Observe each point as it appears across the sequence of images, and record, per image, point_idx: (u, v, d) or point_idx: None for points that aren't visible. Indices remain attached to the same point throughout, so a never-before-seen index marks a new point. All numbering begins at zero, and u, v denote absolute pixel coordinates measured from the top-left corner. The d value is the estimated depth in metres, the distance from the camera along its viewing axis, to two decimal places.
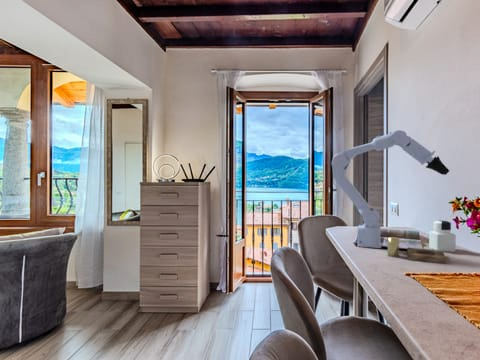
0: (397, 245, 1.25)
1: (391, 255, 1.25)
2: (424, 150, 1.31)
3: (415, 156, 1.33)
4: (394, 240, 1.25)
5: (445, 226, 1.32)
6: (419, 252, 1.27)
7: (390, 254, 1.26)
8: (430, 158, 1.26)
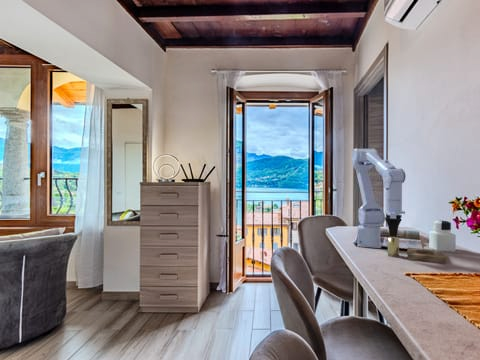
0: (397, 245, 1.25)
1: (391, 255, 1.25)
2: (398, 205, 1.23)
3: (387, 202, 1.25)
4: (394, 240, 1.25)
5: (445, 226, 1.32)
6: (419, 252, 1.27)
7: (390, 254, 1.26)
8: (394, 216, 1.20)
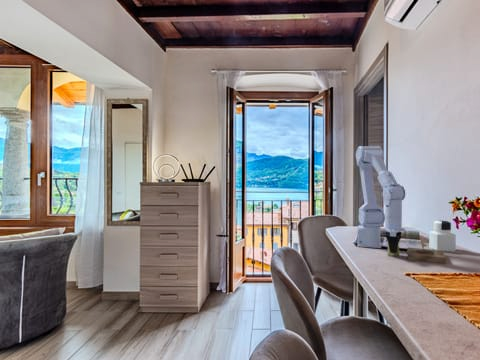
0: None
1: (391, 255, 1.25)
2: (398, 222, 1.24)
3: (387, 219, 1.26)
4: None
5: (445, 226, 1.32)
6: (419, 252, 1.27)
7: (390, 254, 1.26)
8: (394, 233, 1.20)
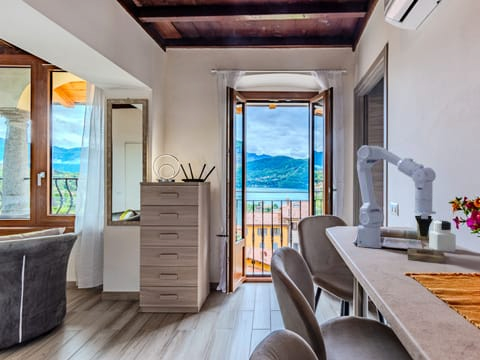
0: None
1: (421, 239, 1.22)
2: (429, 205, 1.20)
3: (417, 202, 1.22)
4: None
5: (445, 226, 1.32)
6: (419, 252, 1.27)
7: (420, 238, 1.22)
8: (425, 216, 1.17)
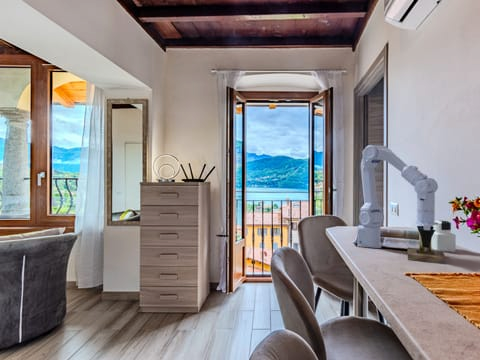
0: None
1: (424, 250, 1.22)
2: (431, 216, 1.20)
3: (419, 213, 1.22)
4: None
5: (445, 226, 1.32)
6: (419, 252, 1.27)
7: (422, 249, 1.22)
8: (428, 227, 1.17)
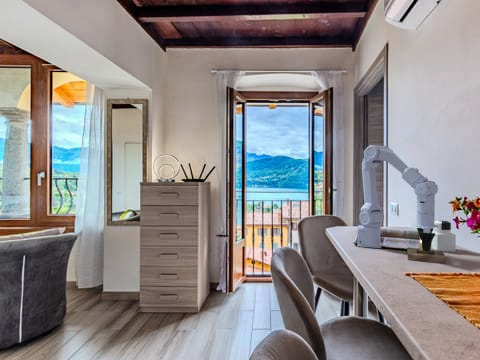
0: None
1: None
2: (431, 218, 1.20)
3: (419, 215, 1.22)
4: None
5: (445, 226, 1.32)
6: None
7: None
8: (428, 230, 1.17)
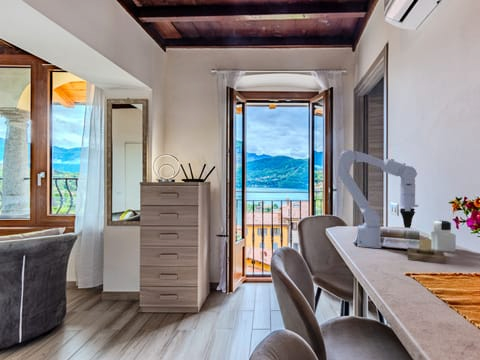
0: (430, 247, 1.22)
1: None
2: (412, 199, 1.35)
3: (402, 196, 1.37)
4: (427, 242, 1.21)
5: (445, 226, 1.32)
6: None
7: None
8: (408, 208, 1.32)
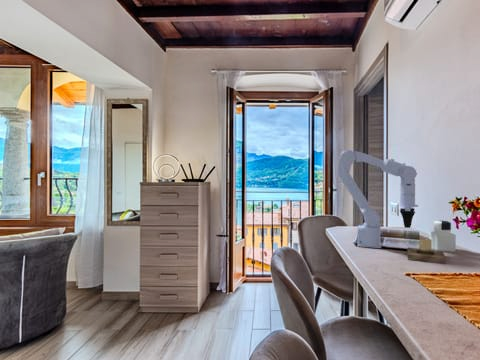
0: (430, 247, 1.22)
1: None
2: (412, 198, 1.35)
3: (402, 196, 1.37)
4: (427, 242, 1.21)
5: (445, 226, 1.32)
6: None
7: None
8: (408, 208, 1.32)
